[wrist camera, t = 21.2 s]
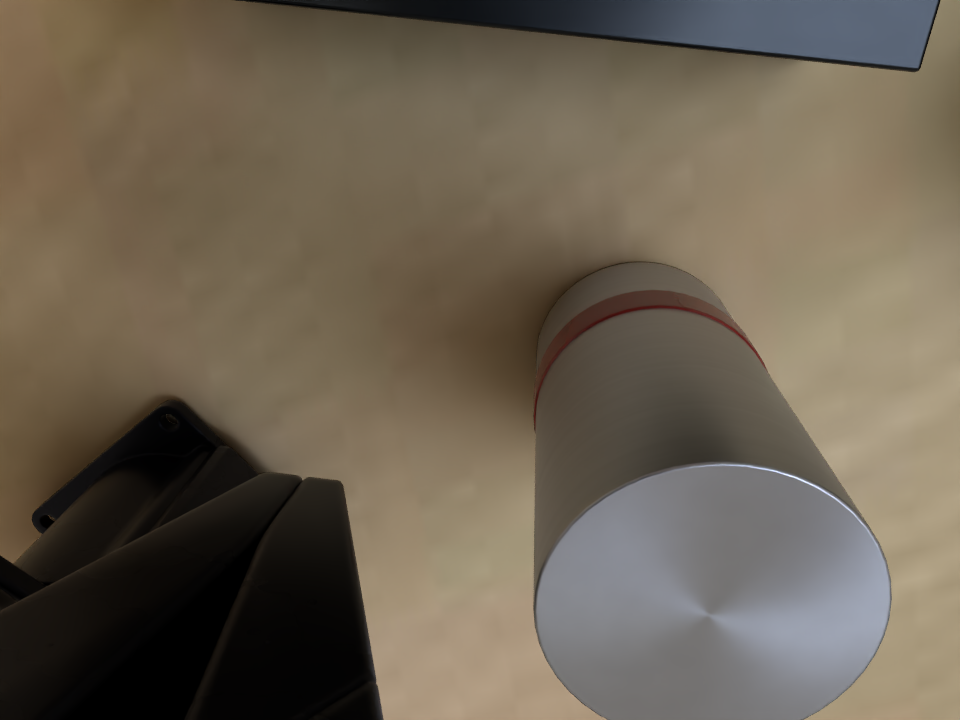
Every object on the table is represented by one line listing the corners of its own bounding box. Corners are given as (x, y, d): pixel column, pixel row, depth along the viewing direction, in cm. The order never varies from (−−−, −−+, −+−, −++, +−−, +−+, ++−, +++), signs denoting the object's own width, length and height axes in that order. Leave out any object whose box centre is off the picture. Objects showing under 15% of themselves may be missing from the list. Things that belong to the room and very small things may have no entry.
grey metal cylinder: (611, 478, 22) (661, 792, 13) (494, 340, 21) (458, 584, 12) (777, 373, 21) (963, 647, 12) (661, 217, 19) (770, 387, 10)
